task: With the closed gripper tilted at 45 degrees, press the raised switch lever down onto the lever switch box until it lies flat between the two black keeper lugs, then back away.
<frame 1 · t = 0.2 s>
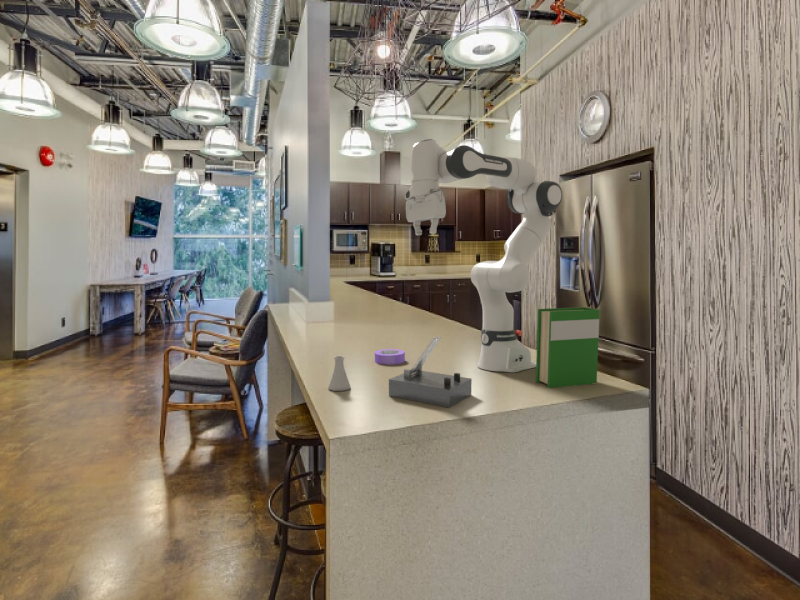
hand: (425, 234, 156), 48 cm above the countertop, fingers open, 8 cm apart
masking tape: (389, 362, 186), on the countertop
lever switch box: (412, 392, 144), on the countertop
switch lever: (424, 356, 141), point 11 cm above the countertop, hinge at 55.0°
flask: (339, 389, 148), on the countertop
hardback book: (565, 383, 155), on the countertop
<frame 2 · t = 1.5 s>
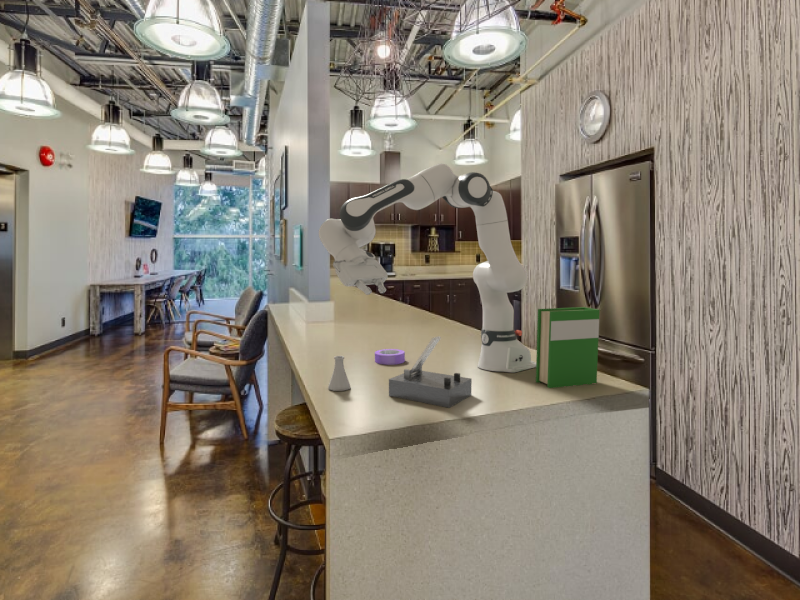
hand: (376, 292, 149), 30 cm above the countertop, fingers open, 6 cm apart
nothing on the countertop moved.
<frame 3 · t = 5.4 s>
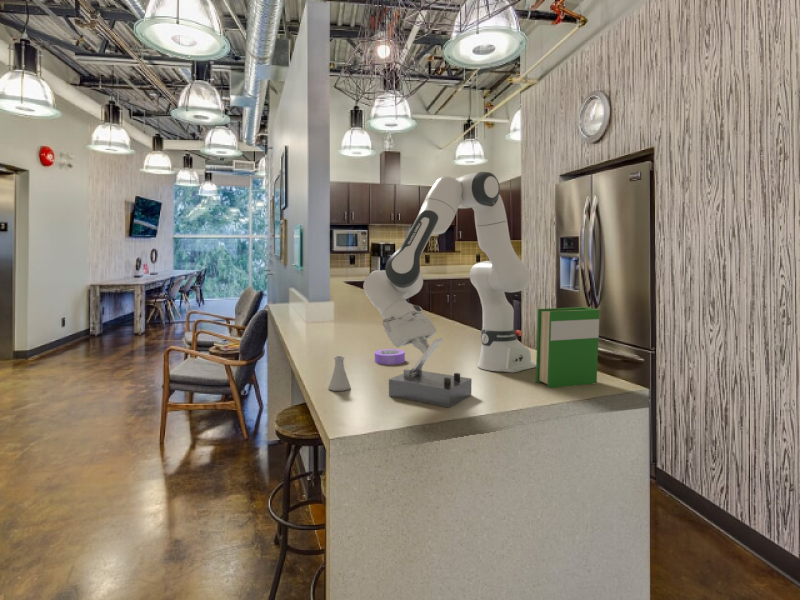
hand: (427, 351, 140), 13 cm above the countertop, fingers closed, pressing on switch lever
switch lever: (424, 357, 141), point 11 cm above the countertop, hinge at 51.6°, touching gripper
everything else where it was.
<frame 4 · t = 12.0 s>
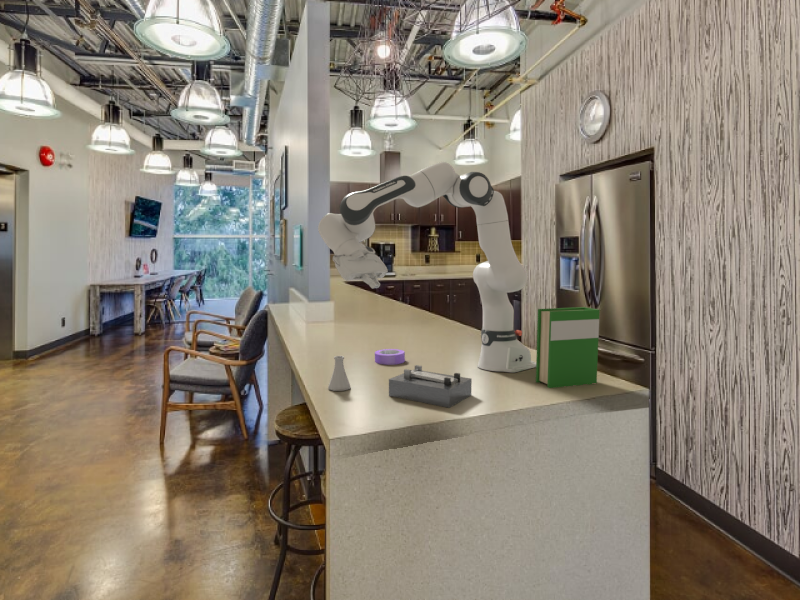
hand: (376, 286, 148), 31 cm above the countertop, fingers closed
switch lever: (432, 376, 140), point 6 cm above the countertop, hinge at -2.1°, touching lever switch box
everything else where it was.
at the end: switch lever at -2° (first picture: +55°) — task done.
